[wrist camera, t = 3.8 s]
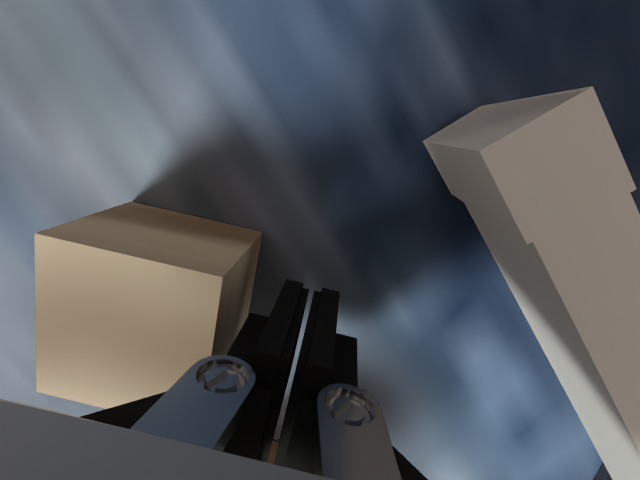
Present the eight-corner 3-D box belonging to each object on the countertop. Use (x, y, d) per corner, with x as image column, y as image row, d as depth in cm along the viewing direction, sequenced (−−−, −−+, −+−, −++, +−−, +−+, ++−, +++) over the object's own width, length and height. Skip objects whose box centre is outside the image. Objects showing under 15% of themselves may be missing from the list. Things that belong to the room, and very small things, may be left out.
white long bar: (655, 459, 13) (837, 659, 8) (603, 477, 14) (747, 678, 9) (479, 106, 11) (592, 86, 6) (422, 140, 11) (478, 151, 6)
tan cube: (131, 201, 13) (34, 233, 9) (262, 231, 13) (222, 277, 9) (123, 319, 14) (36, 392, 10) (242, 347, 14) (200, 431, 10)
